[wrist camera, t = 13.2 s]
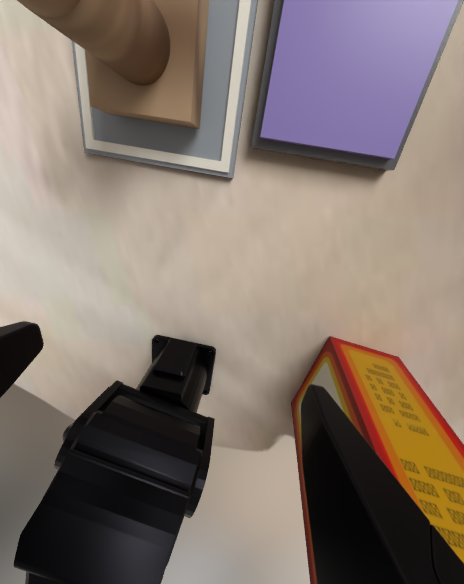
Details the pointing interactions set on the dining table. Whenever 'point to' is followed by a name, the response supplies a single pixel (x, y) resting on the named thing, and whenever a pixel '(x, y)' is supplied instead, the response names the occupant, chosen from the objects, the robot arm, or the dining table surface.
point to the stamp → (138, 54)
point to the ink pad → (349, 76)
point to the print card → (214, 112)
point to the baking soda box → (391, 433)
